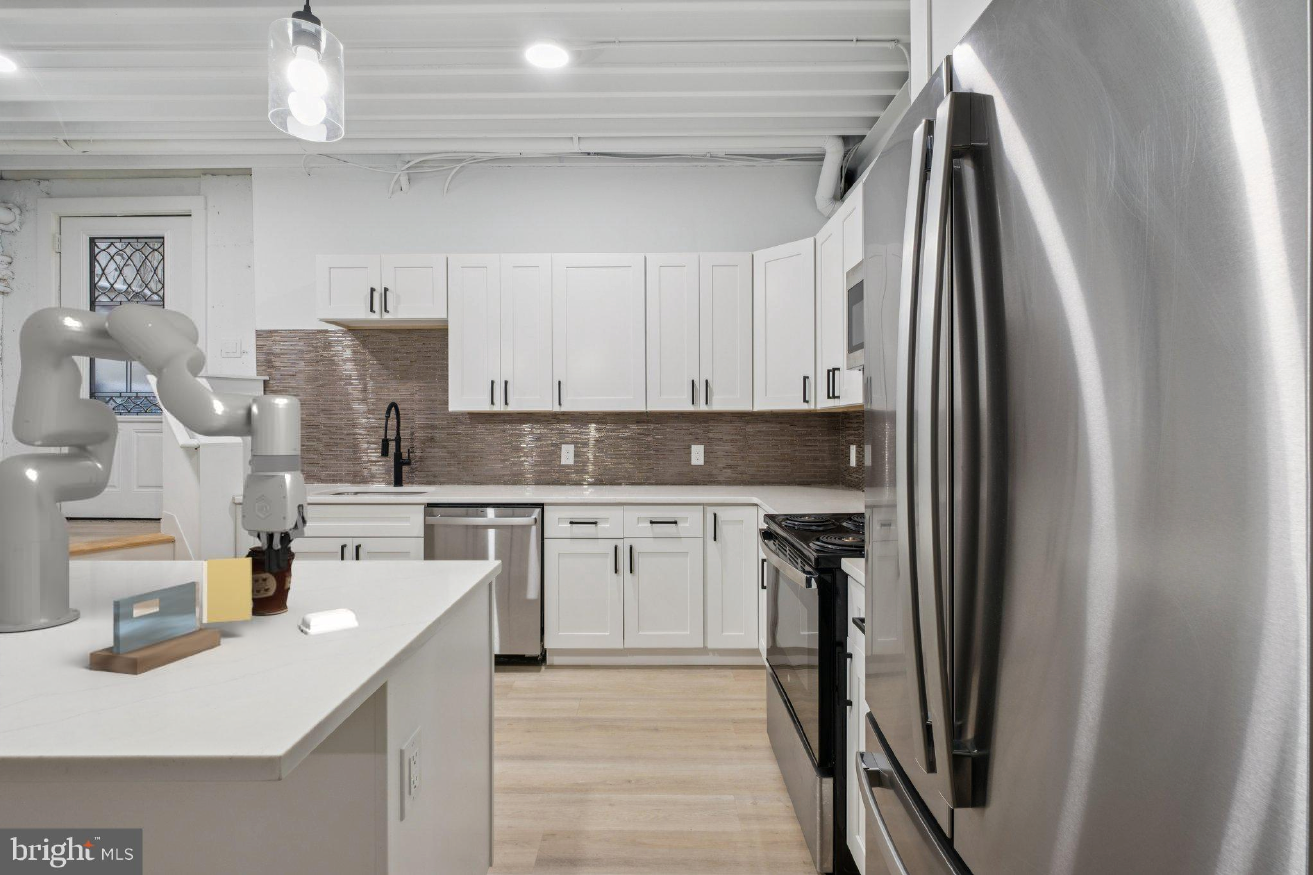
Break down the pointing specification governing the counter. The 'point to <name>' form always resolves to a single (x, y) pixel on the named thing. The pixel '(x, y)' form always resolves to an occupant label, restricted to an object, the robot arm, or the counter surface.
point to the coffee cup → (269, 584)
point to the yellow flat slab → (226, 590)
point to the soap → (328, 621)
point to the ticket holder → (155, 631)
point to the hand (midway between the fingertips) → (276, 570)
